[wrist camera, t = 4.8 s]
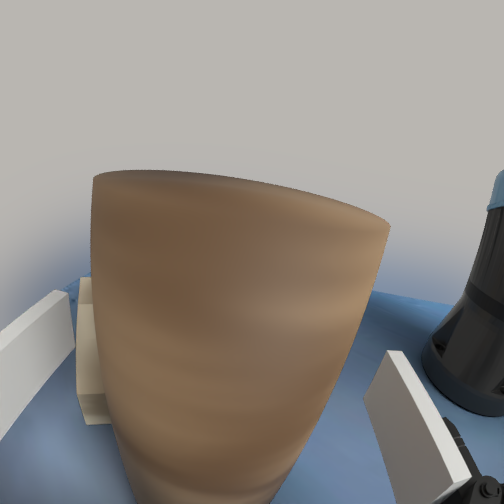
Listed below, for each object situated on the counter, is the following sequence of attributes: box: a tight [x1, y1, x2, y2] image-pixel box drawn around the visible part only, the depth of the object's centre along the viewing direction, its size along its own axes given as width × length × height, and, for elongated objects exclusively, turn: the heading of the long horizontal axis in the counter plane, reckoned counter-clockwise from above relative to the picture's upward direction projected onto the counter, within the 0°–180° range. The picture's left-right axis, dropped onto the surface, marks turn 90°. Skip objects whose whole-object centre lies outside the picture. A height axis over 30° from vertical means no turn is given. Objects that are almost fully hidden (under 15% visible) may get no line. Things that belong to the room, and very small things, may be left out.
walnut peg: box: [91, 170, 391, 504], centre depth 8 cm, size 6×6×16 cm
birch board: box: [76, 277, 112, 425], centre depth 25 cm, size 20×16×3 cm
